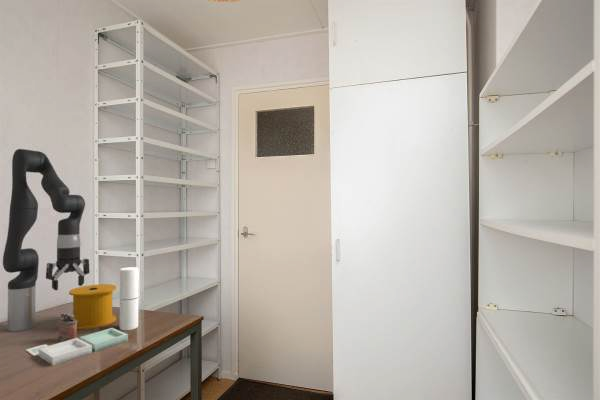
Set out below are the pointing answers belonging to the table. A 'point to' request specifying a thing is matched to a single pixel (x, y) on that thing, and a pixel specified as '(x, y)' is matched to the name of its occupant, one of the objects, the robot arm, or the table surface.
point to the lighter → (67, 327)
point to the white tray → (65, 351)
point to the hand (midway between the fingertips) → (68, 287)
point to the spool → (93, 305)
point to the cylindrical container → (129, 298)
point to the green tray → (105, 338)
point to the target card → (35, 350)
